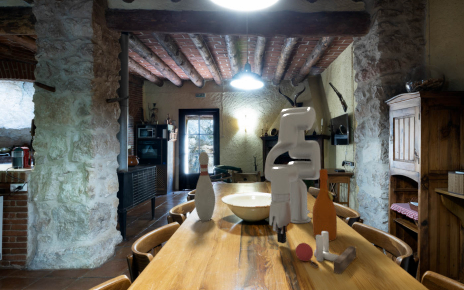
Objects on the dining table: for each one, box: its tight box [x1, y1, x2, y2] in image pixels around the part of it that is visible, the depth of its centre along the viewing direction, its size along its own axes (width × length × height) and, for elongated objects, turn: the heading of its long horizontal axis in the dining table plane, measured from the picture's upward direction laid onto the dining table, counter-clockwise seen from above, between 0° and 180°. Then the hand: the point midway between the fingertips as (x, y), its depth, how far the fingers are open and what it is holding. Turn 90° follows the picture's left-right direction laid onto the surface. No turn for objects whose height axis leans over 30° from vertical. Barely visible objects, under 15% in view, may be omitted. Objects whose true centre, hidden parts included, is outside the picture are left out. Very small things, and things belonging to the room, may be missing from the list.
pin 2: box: [321, 231, 330, 253], centre depth 95 cm, size 2×2×8 cm
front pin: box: [313, 248, 340, 262], centre depth 92 cm, size 2×2×8 cm
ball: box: [295, 242, 314, 262], centre depth 91 cm, size 6×6×6 cm
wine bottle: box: [312, 168, 338, 242], centre depth 112 cm, size 10×10×30 cm
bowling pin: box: [193, 151, 216, 222], centre depth 144 cm, size 11×12×38 cm
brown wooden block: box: [333, 245, 357, 275], centre depth 88 cm, size 16×2×4 cm, turn 138°
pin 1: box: [315, 235, 324, 262], centre depth 91 cm, size 2×2×8 cm
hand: (281, 242), depth 105 cm, fingers closed
